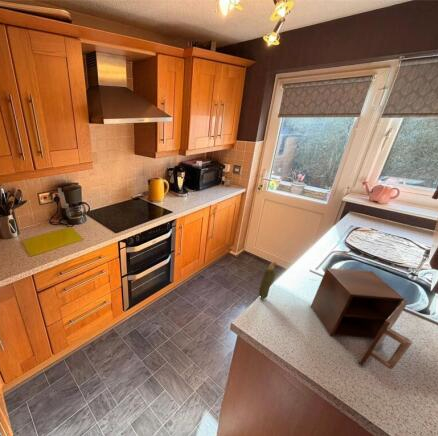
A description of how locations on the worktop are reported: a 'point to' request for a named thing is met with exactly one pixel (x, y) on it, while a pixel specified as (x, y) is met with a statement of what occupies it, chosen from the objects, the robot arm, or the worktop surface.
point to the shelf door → (396, 336)
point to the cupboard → (354, 303)
